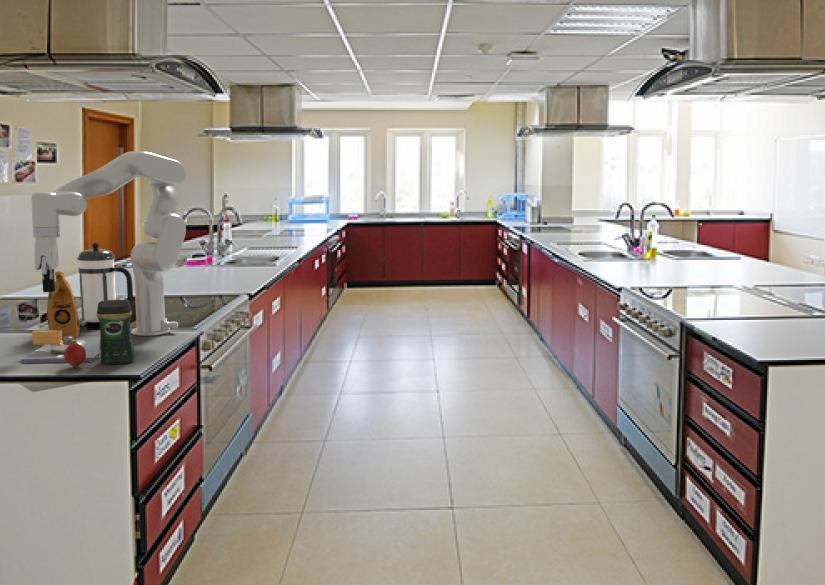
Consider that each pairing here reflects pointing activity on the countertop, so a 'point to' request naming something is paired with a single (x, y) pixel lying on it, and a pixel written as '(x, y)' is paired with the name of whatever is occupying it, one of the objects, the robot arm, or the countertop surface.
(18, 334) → the countertop surface
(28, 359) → the board
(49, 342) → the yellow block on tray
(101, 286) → the coffee press
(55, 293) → the coffee package
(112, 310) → the coffee jar
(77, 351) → the pomegranate
